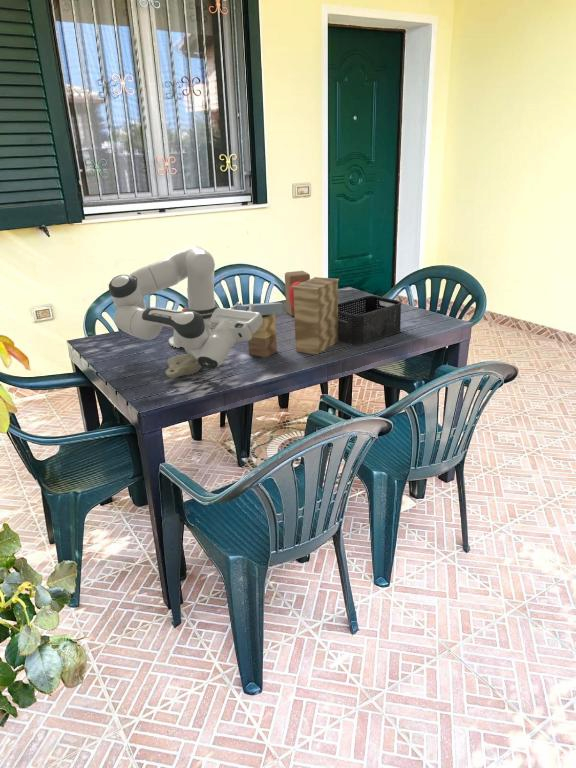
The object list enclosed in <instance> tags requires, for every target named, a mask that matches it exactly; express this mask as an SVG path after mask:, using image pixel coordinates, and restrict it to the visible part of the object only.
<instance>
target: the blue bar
mask: <svg viewBox="0 0 576 768" xmlns="http://www.w3.org/2000/svg"><path fill="white" fill-rule="evenodd" d="M249 304H250V303H248V304H242V305H237V310H242V311H247V310H249V309H248V305H249ZM252 304H253V305H254V308H253V312H259V313H260V314H261V315H271V314H273V315H280V314H283V310H284V308H283V306H284V303H283V302H263V303H262V302H261V303H252Z"/></svg>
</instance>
